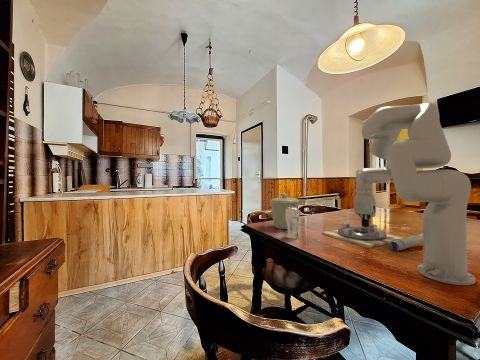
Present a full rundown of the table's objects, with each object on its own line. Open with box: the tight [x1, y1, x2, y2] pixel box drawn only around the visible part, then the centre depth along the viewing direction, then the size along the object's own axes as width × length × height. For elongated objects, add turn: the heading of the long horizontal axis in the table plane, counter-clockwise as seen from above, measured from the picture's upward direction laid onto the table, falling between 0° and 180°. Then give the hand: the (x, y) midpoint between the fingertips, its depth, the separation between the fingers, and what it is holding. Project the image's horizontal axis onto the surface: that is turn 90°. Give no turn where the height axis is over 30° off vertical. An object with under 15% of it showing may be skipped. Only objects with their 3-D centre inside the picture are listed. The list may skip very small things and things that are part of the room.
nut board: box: [321, 229, 406, 249], centre depth 107 cm, size 26×26×1 cm
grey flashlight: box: [388, 233, 423, 252], centre depth 90 cm, size 5×7×25 cm
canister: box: [269, 192, 300, 230], centre depth 131 cm, size 18×18×21 cm
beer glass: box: [285, 207, 300, 240], centre depth 110 cm, size 7×7×15 cm
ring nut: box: [337, 222, 387, 240], centre depth 107 cm, size 21×21×4 cm
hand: (365, 226), depth 115 cm, fingers closed
